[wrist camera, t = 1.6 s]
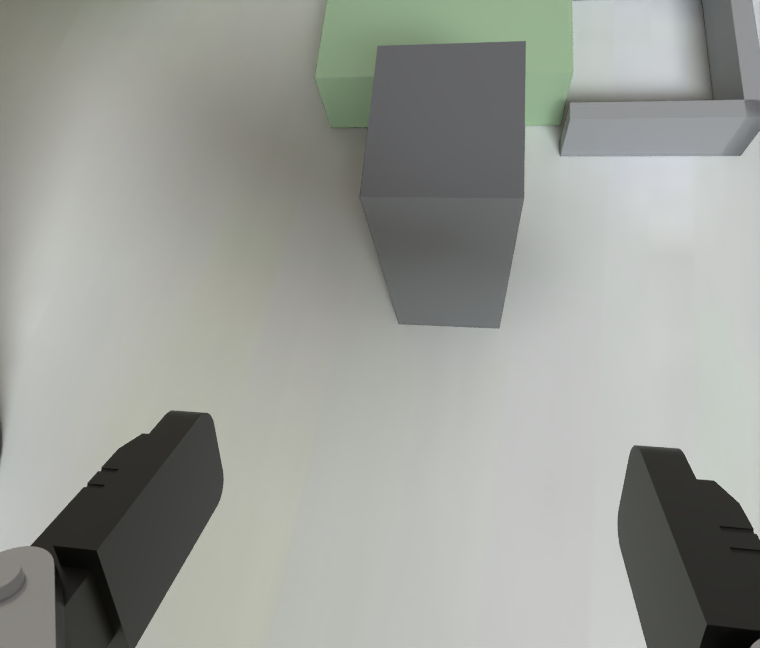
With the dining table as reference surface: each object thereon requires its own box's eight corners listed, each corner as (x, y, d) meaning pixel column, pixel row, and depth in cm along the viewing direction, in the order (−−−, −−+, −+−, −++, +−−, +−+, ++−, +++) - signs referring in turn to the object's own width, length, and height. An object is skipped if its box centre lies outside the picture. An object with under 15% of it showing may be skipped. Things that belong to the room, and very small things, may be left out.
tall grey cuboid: (398, 324, 29) (359, 197, 18) (407, 219, 31) (377, 45, 20) (499, 328, 28) (523, 198, 17) (502, 221, 30) (525, 40, 19)
